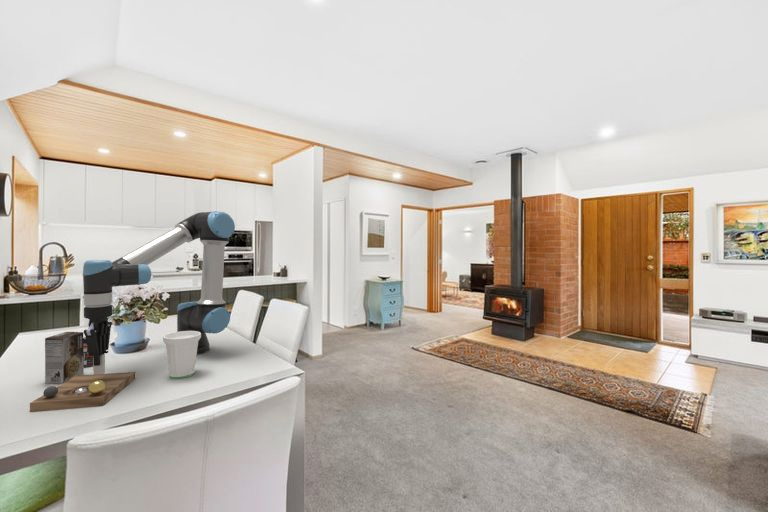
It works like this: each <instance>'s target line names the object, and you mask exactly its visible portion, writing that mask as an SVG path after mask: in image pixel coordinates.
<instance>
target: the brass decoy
mask: <svg viewBox="0 0 768 512" xmlns="http://www.w3.org/2000/svg"><path fill="white" fill-rule="evenodd" d="M105 388H106V384H105V382H104V381H102V380H96V381H94V382H92V383H91V384H90V385H89V387H88V391H89V393H91V394H93V395H97V394H100V393H102V392H103V391H104V390H105Z"/></svg>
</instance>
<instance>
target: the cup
mask: <svg viewBox="0 0 768 512" xmlns="http://www.w3.org/2000/svg"><path fill="white" fill-rule="evenodd" d="M200 338H201V333H200V332H198V331H181V332H177V331H175V332H174V331H173V332H169V333H167V334H164V335H163V337H162V340H163V341H162V342H163V343H164V344H165V349H166V357H167V365H168V373H169V374H168V376H169V379H172V380H174V379H175V380H178V379H180V380H181V379H184V378H185V379H186V378H189V377H192V376H193V375H195V373H196V369H195V368H196V361H197V355H198V354H197V347H198V341H199V339H200Z"/></svg>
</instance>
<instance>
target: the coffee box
mask: <svg viewBox="0 0 768 512" xmlns="http://www.w3.org/2000/svg"><path fill="white" fill-rule="evenodd" d="M83 338H84V331H81V332H80V331H79V332H78V331H64V332H61V333H57V334H54V335H52V336H48V337H45V338H44V364H45V365H44V375H45V376H44V383H45V385H49V384H51V385H52V384H63V383H65V382H66V381H68V380H70V379H72V378H73V377H75V376H79V375H85V372H84V368H85V367H84V351H83V350H84V349H83Z"/></svg>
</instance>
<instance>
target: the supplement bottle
mask: <svg viewBox="0 0 768 512" xmlns="http://www.w3.org/2000/svg"><path fill="white" fill-rule="evenodd" d="M83 349H84V350H83V351H84V368H89V367H93V356H89V354H88V348H87V342H86V336H83Z"/></svg>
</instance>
